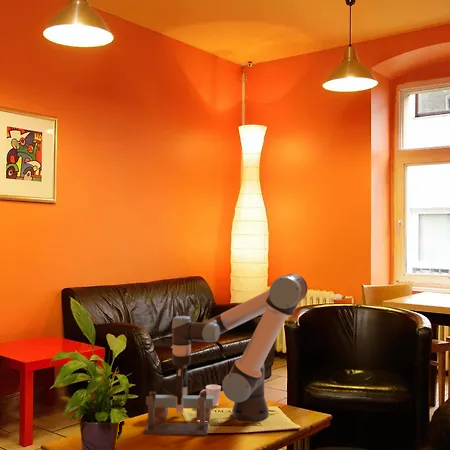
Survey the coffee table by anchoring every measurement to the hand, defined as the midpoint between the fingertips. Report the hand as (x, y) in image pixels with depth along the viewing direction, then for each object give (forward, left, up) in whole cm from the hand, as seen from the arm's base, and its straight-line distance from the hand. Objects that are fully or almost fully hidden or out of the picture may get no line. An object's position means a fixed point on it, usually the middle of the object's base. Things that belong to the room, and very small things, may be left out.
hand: (181, 407), depth 238 cm
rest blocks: (0, 0, -5) cm, 5 cm away
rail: (0, 0, 0) cm, 0 cm away
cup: (-10, -18, -5) cm, 21 cm away
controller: (+22, +21, -5) cm, 31 cm away
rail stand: (0, +14, -5) cm, 15 cm away
